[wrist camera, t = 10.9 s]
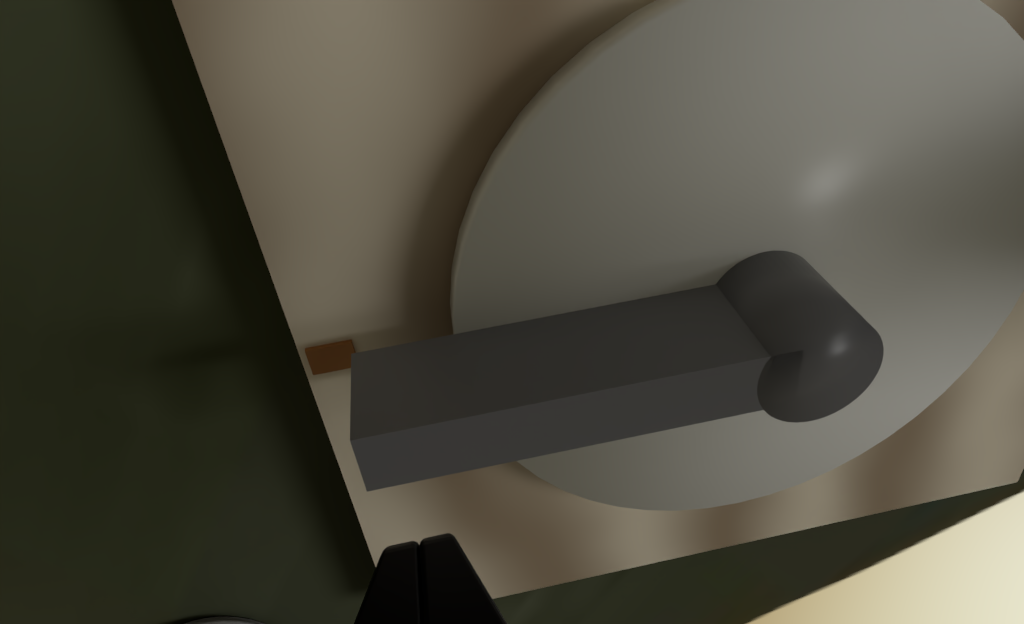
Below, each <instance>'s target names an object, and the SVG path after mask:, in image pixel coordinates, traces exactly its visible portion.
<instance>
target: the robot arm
mask: <svg viewBox="0 0 1024 624" xmlns="http://www.w3.org/2000/svg"><path fill="white" fill-rule="evenodd" d="M354 624H507V623H506V621H505V619H504V618H503V616H502V614H501V613H500V611H499V609H498V608H497V606H496V604H495V603H494V601H493V599H492V598H491V596H490V594H489V593H488V591H487V589H486V588H485V586H484V584H483V583H482V581H481V579H480V578H479V576H478V574H477V573H476V571H475V569H474V568H473V566H472V564H471V563H470V561H469V559H468V558H467V556H466V554H465V553H464V551H463V549H462V548H461V546H460V544H459V543H458V541H457V539H456V538H455V536H454V535H452V534H450V533H446V534H441V535H437V536H432V537H428V538H424V539H423V540H422V541H421V542H420V545H419V544H418V542H416V541H409V542H405V543H400V544H395V545H391V546H388V547H386V548H385V549H384V550H383V552H382V554H381V556H380V558H379V561H378V563H377V566H376V569H375V571H374V574H373V576H372V579H371V581H370V584H369V586H368V589H367V592H366V594H365V597H364V599H363V602H362V604H361V607H360V610H359V612H358V615H357V617H356V620H355V622H354Z"/></svg>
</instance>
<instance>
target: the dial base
mask: <svg viewBox="0 0 1024 624" xmlns="http://www.w3.org/2000/svg"><path fill="white" fill-rule="evenodd" d="M654 1H656V0H172V2H173V5H174V8H175V11H176V13H177V16H178V19H179V22H180V24H181V27H182V30H183V33H184V36H185V38H186V41H187V44H188V47H189V50H190V52H191V55H192V58H193V61H194V63H195V66H196V69H197V72H198V75H199V77H200V80H201V83H202V86H203V88H204V91H205V94H206V97H207V100H208V102H209V105H210V108H211V111H212V114H213V116H214V119H215V122H216V125H217V127H218V130H219V133H220V136H221V139H222V141H223V144H224V147H225V150H226V152H227V155H228V158H229V161H230V164H231V166H232V169H233V172H234V175H235V178H236V180H237V183H238V186H239V189H240V191H241V194H242V197H243V200H244V203H245V205H246V208H247V211H248V214H249V216H250V219H251V222H252V225H253V228H254V230H255V233H256V236H257V239H258V241H259V244H260V247H261V250H262V253H263V255H264V258H265V261H266V264H267V267H268V269H269V272H270V275H271V278H272V280H273V283H274V286H275V289H276V292H277V294H278V297H279V300H280V303H281V305H282V308H283V311H284V314H285V317H286V319H287V322H288V325H289V328H290V331H291V333H292V336H293V339H294V342H295V344H296V347H297V350H298V353H299V356H300V358H301V361H302V364H303V367H304V369H305V372H306V375H307V378H308V381H309V383H310V386H311V389H312V392H313V395H314V397H315V400H316V403H317V406H318V408H319V411H320V414H321V417H322V420H323V422H324V425H325V428H326V431H327V433H328V436H329V439H330V442H331V445H332V447H333V450H334V453H335V456H336V459H337V461H338V464H339V467H340V470H341V472H342V475H343V478H344V481H345V484H346V486H347V489H348V492H349V495H350V497H351V500H352V503H353V506H354V509H355V511H356V514H357V517H358V520H359V522H360V525H361V528H362V531H363V534H364V536H365V539H366V542H367V545H368V548H369V550H370V553H371V556H372V559H373V561H374V564H375V567H376V566H377V563H378V561H379V558H380V556H381V554H382V552H383V550H384V549H385V548H386V547H388V546H391V545H395V544H400V543H405V542H409V541H416V542H418V544H419V545H420V542H421V541H422V540H423V539H424V538H428V537H432V536H437V535H441V534H446V533H450V534H452V535H454V536H455V538H456V539H457V541H458V543H459V544H460V546H461V548H462V549H463V551H464V553H465V554H466V556H467V558H468V559H469V561H470V563H471V564H472V566H473V568H474V569H475V571H476V573H477V574H478V576H479V578H480V579H481V581H482V583H483V584H484V586H485V588H486V589H487V591H488V593H489V594H490V596H491V598H492V599H494V598H499V597H503V596H507V595H512V594H516V593H521V592H525V591H530V590H534V589H539V588H543V587H548V586H552V585H557V584H561V583H566V582H570V581H575V580H579V579H584V578H588V577H593V576H597V575H602V574H606V573H611V572H615V571H620V570H624V569H629V568H633V567H638V566H642V565H647V564H651V563H656V562H660V561H665V560H669V559H674V558H678V557H683V556H687V555H692V554H696V553H701V552H705V551H710V550H714V549H719V548H723V547H728V546H732V545H737V544H741V543H746V542H750V541H755V540H759V539H764V538H768V537H773V536H777V535H782V534H786V533H791V532H795V531H800V530H804V529H809V528H813V527H818V526H822V525H827V524H831V523H836V522H840V521H845V520H849V519H854V518H858V517H863V516H867V515H872V514H876V513H881V512H885V511H889V510H894V509H898V508H903V507H907V506H912V505H916V504H921V503H925V502H930V501H934V500H939V499H943V498H948V497H952V496H957V495H961V494H966V493H970V492H975V491H979V490H984V489H988V488H993V487H997V486H1002V485H1006V484H1011V483H1015V482H1018V480H1019V477H1020V475H1021V473H1022V471H1023V468H1024V290H1023V292H1022V294H1021V295H1020V297H1019V299H1018V301H1017V302H1016V304H1015V306H1014V308H1013V310H1012V311H1011V313H1010V314H1009V316H1008V317H1007V318H1006V320H1005V321H1004V323H1003V324H1002V326H1001V327H1000V328H999V330H998V331H997V333H996V334H995V336H994V337H993V339H992V340H991V341H990V342H989V344H988V345H987V346H986V347H985V348H984V350H983V351H982V352H981V353H980V354H979V356H978V357H977V358H976V359H975V360H974V362H973V363H972V364H971V365H970V366H969V368H968V369H967V370H966V371H965V372H964V373H963V374H962V375H961V376H960V377H959V378H958V379H957V380H956V381H955V382H954V383H953V384H952V385H951V386H950V387H949V388H948V389H947V390H946V391H945V392H944V393H943V394H942V395H941V396H939V397H938V398H937V399H936V400H935V401H934V402H933V403H931V404H930V405H929V406H928V407H927V408H926V409H924V410H923V411H922V412H921V413H920V414H919V415H918V416H916V417H915V418H914V419H912V420H911V421H910V422H908V423H907V424H906V425H904V426H903V427H901V428H900V429H899V430H897V431H896V432H895V433H893V434H892V435H891V436H889V437H888V438H886V439H885V440H883V441H881V442H880V443H878V444H877V445H875V446H874V447H872V448H870V449H869V450H867V451H866V452H864V453H862V454H861V455H859V456H857V457H855V458H854V459H852V460H850V461H848V462H846V463H844V464H842V465H840V466H838V467H837V468H835V469H833V470H831V471H829V472H826V473H824V474H822V475H820V476H817V477H815V478H813V479H810V480H808V481H806V482H804V483H801V484H799V485H796V486H793V487H790V488H787V489H784V490H782V491H779V492H776V493H773V494H770V495H767V496H763V497H759V498H755V499H751V500H747V501H744V502H740V503H735V504H729V505H723V506H717V507H712V508H704V509H692V510H679V511H662V510H640V509H632V508H623V507H616V506H612V505H608V504H603V503H599V502H595V501H591V500H588V499H585V498H582V497H579V496H577V495H574V494H571V493H569V492H566V491H563V490H561V489H559V488H558V487H556V486H554V485H552V484H550V483H548V482H546V481H544V480H542V479H541V478H539V477H537V476H536V475H535V474H533V473H532V472H530V471H529V470H528V469H526V468H525V467H524V466H522V465H521V464H520V463H518V462H517V461H513V462H509V463H504V464H499V465H494V466H489V467H484V468H480V469H475V470H470V471H465V472H460V473H455V474H450V475H446V476H441V477H436V478H431V479H426V480H421V481H416V482H412V483H407V484H402V485H397V486H392V487H387V488H383V489H378V490H373V491H368V492H367V490H366V487H365V484H364V481H363V478H362V475H361V472H360V469H359V466H358V463H357V460H356V457H355V454H354V451H353V448H352V445H351V442H350V400H351V354H353V353H358V352H363V351H369V350H374V349H379V348H384V347H389V346H395V345H400V344H405V343H410V342H416V341H421V340H426V339H431V338H437V337H442V336H447V335H452V334H453V327H452V318H451V309H450V291H451V270H452V263H453V258H454V253H455V248H456V243H457V238H458V233H459V229H460V226H461V223H462V221H463V218H464V215H465V212H466V209H467V206H468V203H469V201H470V198H471V195H472V192H473V190H474V188H475V186H476V184H477V182H478V180H479V178H480V176H481V174H482V172H483V170H484V168H485V166H486V164H487V162H488V160H489V158H490V157H491V155H492V153H493V151H494V150H495V148H496V147H497V145H498V144H499V142H500V141H501V139H502V138H503V136H504V135H505V133H506V132H507V130H508V129H509V128H510V126H511V125H512V123H513V122H514V120H515V119H516V117H517V116H518V114H519V113H520V112H521V111H522V110H523V108H524V107H525V106H526V105H527V104H528V103H529V102H530V100H531V99H532V98H533V97H534V96H535V95H536V94H537V93H538V91H539V90H540V89H541V88H542V87H543V86H544V85H545V83H546V82H547V81H548V80H549V79H550V78H551V77H552V76H553V75H554V74H555V73H556V72H557V71H558V70H559V69H561V68H562V67H563V66H564V65H565V64H566V63H567V62H568V61H569V60H571V59H572V58H573V57H574V56H575V55H576V54H577V53H578V52H580V51H581V50H582V49H583V48H584V47H585V46H586V45H587V44H589V43H590V42H591V41H593V40H594V39H595V38H597V37H598V36H600V35H601V34H603V33H604V32H605V31H607V30H608V29H610V28H611V27H613V26H614V25H615V24H617V23H618V22H620V21H621V20H623V19H624V18H626V17H627V16H628V15H630V14H631V13H633V12H635V11H637V10H639V9H640V8H642V7H644V6H646V5H648V4H650V3H652V2H654ZM980 1H982V2H983V3H984V4H986V5H987V6H988V7H990V8H991V9H992V10H994V11H995V12H996V13H998V14H999V15H1001V16H1002V17H1003V18H1004V19H1005V20H1006V21H1007V22H1008V23H1009V24H1010V26H1011V27H1012V28H1013V29H1014V30H1015V31H1016V32H1017V33H1018V35H1019V36H1020V37H1021V38H1022V39H1023V40H1024V0H980Z"/></svg>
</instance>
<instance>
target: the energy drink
mask: <svg viewBox="0 0 1024 624" xmlns="http://www.w3.org/2000/svg"><path fill="white" fill-rule="evenodd" d="M184 624H264V623H261V622H258V621H255V620H252V619H246V618H241V617H227V616H223V617H209V618H204V619H198V620H194V621H191V622H188V623H184Z"/></svg>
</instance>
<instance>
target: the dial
mask: <svg viewBox="0 0 1024 624" xmlns="http://www.w3.org/2000/svg"><path fill="white" fill-rule="evenodd" d="M1023 290H1024V40H1023V39H1022V38H1021V37H1020V36H1019V35H1018V33H1017V32H1016V31H1015V30H1014V29H1013V28H1012V27H1011V26H1010V24H1009V23H1008V22H1007V21H1006V20H1005V19H1004V18H1003V17H1002V16H1001V15H999V14H998V13H996V12H995V11H994V10H992V9H991V8H990V7H988V6H987V5H986V4H984V3H983V2H982V1H980V0H656V1H654V2H652V3H650V4H648V5H646V6H644V7H642V8H640V9H639V10H637V11H635V12H633V13H631V14H630V15H628V16H627V17H626V18H624V19H623V20H621V21H620V22H618V23H617V24H615V25H614V26H613V27H611V28H610V29H608V30H607V31H605V32H604V33H603V34H601V35H600V36H598V37H597V38H595V39H594V40H593V41H591V42H590V43H589V44H587V45H586V46H585V47H584V48H583V49H582V50H581V51H580V52H578V53H577V54H576V55H575V56H574V57H573V58H572V59H571V60H569V61H568V62H567V63H566V64H565V65H564V66H563V67H562V68H561V69H559V70H558V71H557V72H556V73H555V74H554V75H553V76H552V77H551V78H550V79H549V80H548V81H547V82H546V83H545V85H544V86H543V87H542V88H541V89H540V90H539V91H538V93H537V94H536V95H535V96H534V97H533V98H532V99H531V100H530V102H529V103H528V104H527V105H526V106H525V107H524V108H523V110H522V111H521V112H520V113H519V114H518V116H517V117H516V119H515V120H514V122H513V123H512V125H511V126H510V128H509V129H508V130H507V132H506V133H505V135H504V136H503V138H502V139H501V141H500V142H499V144H498V145H497V147H496V148H495V150H494V151H493V153H492V155H491V157H490V158H489V160H488V162H487V164H486V166H485V168H484V170H483V172H482V174H481V176H480V178H479V180H478V182H477V184H476V186H475V188H474V190H473V192H472V195H471V198H470V201H469V203H468V206H467V209H466V212H465V215H464V218H463V221H462V223H461V226H460V229H459V233H458V238H457V243H456V248H455V253H454V258H453V263H452V270H451V291H450V309H451V318H452V327H453V334H452V335H447V336H442V337H437V338H431V339H426V340H421V341H416V342H410V343H405V344H400V345H395V346H389V347H384V348H379V349H374V350H369V351H363V352H358V353H353V354H351V400H350V442H351V445H352V448H353V451H354V454H355V457H356V460H357V463H358V466H359V469H360V472H361V475H362V478H363V481H364V484H365V487H366V490H367V492H368V491H373V490H378V489H383V488H387V487H392V486H397V485H402V484H407V483H412V482H416V481H421V480H426V479H431V478H436V477H441V476H446V475H450V474H455V473H460V472H465V471H470V470H475V469H480V468H484V467H489V466H494V465H499V464H504V463H509V462H513V461H517V462H518V463H520V464H521V465H522V466H524V467H525V468H526V469H528V470H529V471H530V472H532V473H533V474H535V475H536V476H537V477H539V478H541V479H542V480H544V481H546V482H548V483H550V484H552V485H554V486H556V487H558V488H559V489H561V490H563V491H566V492H569V493H571V494H574V495H577V496H579V497H582V498H585V499H588V500H591V501H595V502H599V503H603V504H608V505H612V506H616V507H623V508H632V509H640V510H662V511H679V510H692V509H704V508H712V507H717V506H723V505H729V504H735V503H740V502H744V501H747V500H751V499H755V498H759V497H763V496H767V495H770V494H773V493H776V492H779V491H782V490H784V489H787V488H790V487H793V486H796V485H799V484H801V483H804V482H806V481H808V480H810V479H813V478H815V477H817V476H820V475H822V474H824V473H826V472H829V471H831V470H833V469H835V468H837V467H838V466H840V465H842V464H844V463H846V462H848V461H850V460H852V459H854V458H855V457H857V456H859V455H861V454H862V453H864V452H866V451H867V450H869V449H870V448H872V447H874V446H875V445H877V444H878V443H880V442H881V441H883V440H885V439H886V438H888V437H889V436H891V435H892V434H893V433H895V432H896V431H897V430H899V429H900V428H901V427H903V426H904V425H906V424H907V423H908V422H910V421H911V420H912V419H914V418H915V417H916V416H918V415H919V414H920V413H921V412H922V411H923V410H924V409H926V408H927V407H928V406H929V405H930V404H931V403H933V402H934V401H935V400H936V399H937V398H938V397H939V396H941V395H942V394H943V393H944V392H945V391H946V390H947V389H948V388H949V387H950V386H951V385H952V384H953V383H954V382H955V381H956V380H957V379H958V378H959V377H960V376H961V375H962V374H963V373H964V372H965V371H966V370H967V369H968V368H969V366H970V365H971V364H972V363H973V362H974V360H975V359H976V358H977V357H978V356H979V354H980V353H981V352H982V351H983V350H984V348H985V347H986V346H987V345H988V344H989V342H990V341H991V340H992V339H993V337H994V336H995V334H996V333H997V331H998V330H999V328H1000V327H1001V326H1002V324H1003V323H1004V321H1005V320H1006V318H1007V317H1008V316H1009V314H1010V313H1011V311H1012V310H1013V308H1014V306H1015V304H1016V302H1017V301H1018V299H1019V297H1020V295H1021V294H1022V292H1023Z"/></svg>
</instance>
